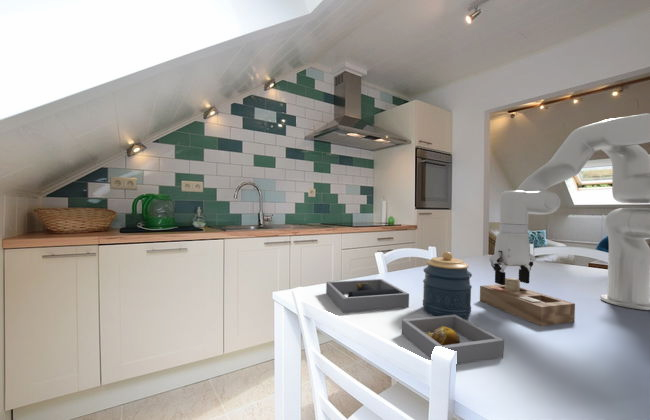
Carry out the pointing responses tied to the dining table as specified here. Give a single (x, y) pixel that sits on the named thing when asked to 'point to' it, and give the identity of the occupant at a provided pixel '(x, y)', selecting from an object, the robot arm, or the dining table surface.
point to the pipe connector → (370, 291)
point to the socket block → (529, 305)
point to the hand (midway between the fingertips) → (512, 283)
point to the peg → (512, 284)
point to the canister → (447, 287)
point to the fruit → (444, 336)
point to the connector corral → (365, 302)
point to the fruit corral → (477, 350)
